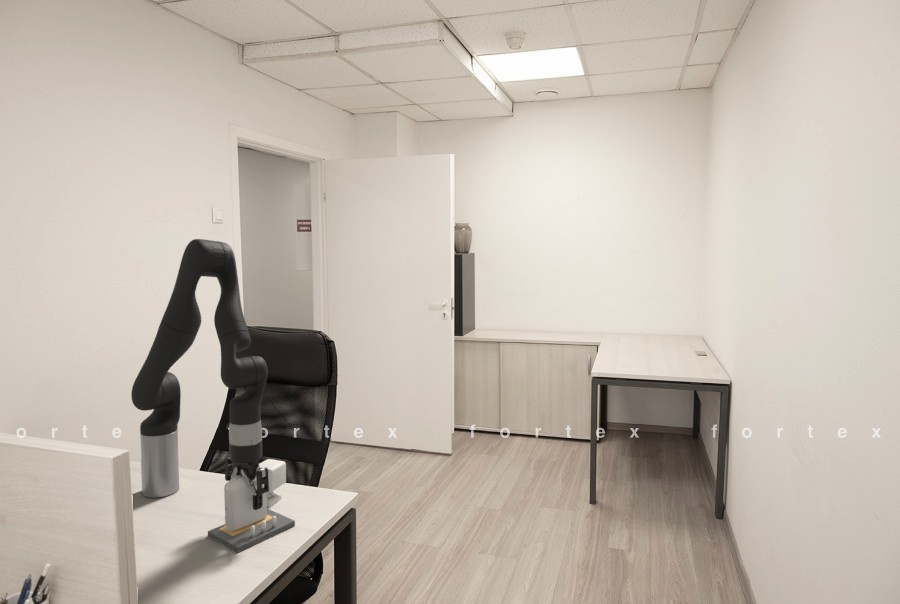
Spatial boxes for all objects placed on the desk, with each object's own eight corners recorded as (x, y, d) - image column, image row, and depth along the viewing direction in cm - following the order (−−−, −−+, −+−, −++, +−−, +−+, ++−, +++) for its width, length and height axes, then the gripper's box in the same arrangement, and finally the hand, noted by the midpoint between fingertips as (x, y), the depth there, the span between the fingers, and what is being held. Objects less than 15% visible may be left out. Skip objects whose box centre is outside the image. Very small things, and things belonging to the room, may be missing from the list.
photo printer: (231, 533, 136) (230, 483, 135) (222, 527, 139) (221, 478, 137) (269, 518, 144) (269, 470, 143) (260, 512, 147) (259, 465, 145)
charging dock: (207, 536, 137) (207, 521, 137) (264, 511, 150) (264, 498, 150) (237, 552, 130) (237, 536, 130) (294, 525, 143) (294, 511, 143)
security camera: (286, 496, 159) (286, 461, 158) (270, 507, 153) (270, 470, 152) (267, 493, 161) (266, 458, 160) (250, 503, 155) (250, 467, 154)
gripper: (214, 437, 140) (216, 501, 142) (250, 450, 132) (251, 518, 134) (241, 429, 146) (242, 491, 148) (277, 441, 138) (278, 506, 140)
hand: (246, 503), depth 141 cm, fingers open, 8 cm apart
